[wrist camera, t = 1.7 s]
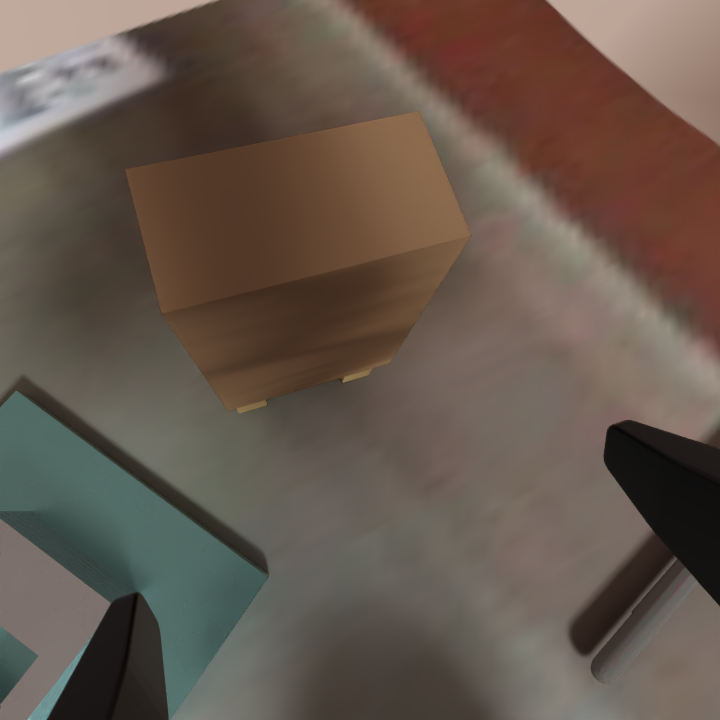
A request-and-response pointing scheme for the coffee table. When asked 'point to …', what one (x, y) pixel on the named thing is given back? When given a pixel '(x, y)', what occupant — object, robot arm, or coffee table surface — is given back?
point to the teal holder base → (98, 563)
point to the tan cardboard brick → (299, 253)
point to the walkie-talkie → (643, 623)
